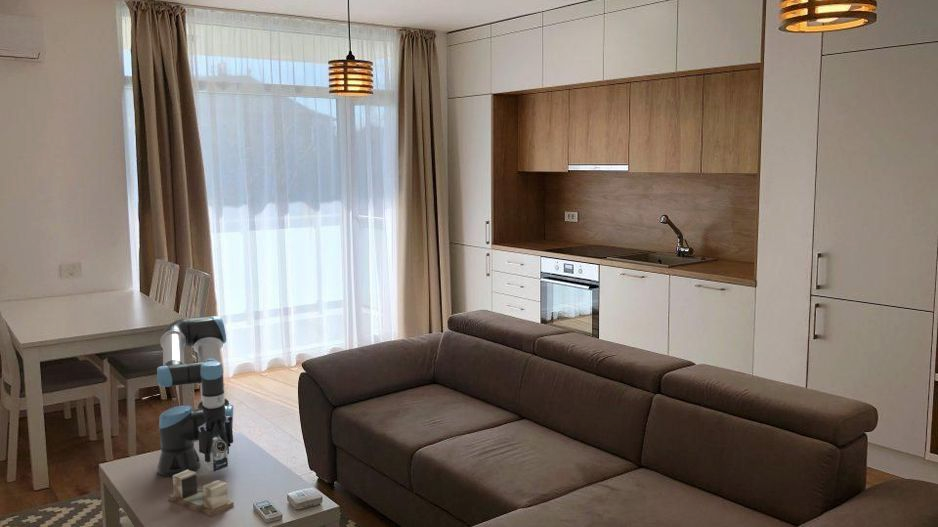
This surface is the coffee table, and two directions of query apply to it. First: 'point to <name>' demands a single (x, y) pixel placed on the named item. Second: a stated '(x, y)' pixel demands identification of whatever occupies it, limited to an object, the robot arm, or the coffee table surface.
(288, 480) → the coffee table surface
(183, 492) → the rail
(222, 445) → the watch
